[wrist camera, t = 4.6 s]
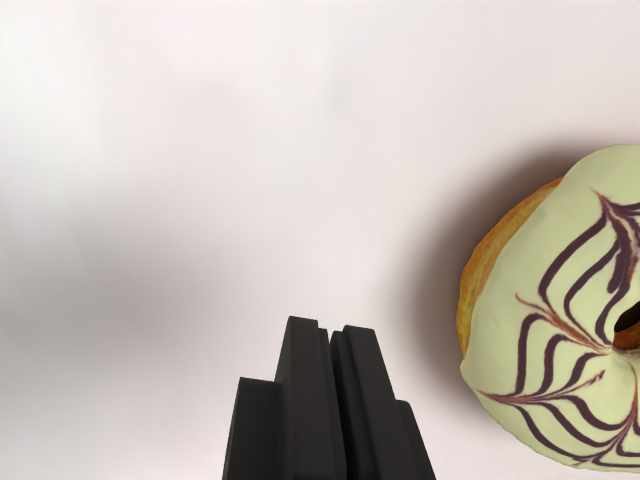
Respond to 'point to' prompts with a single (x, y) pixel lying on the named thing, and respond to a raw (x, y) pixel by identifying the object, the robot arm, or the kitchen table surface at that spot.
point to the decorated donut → (561, 316)
